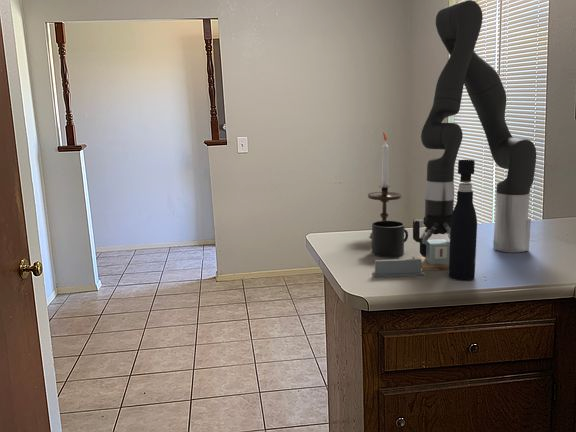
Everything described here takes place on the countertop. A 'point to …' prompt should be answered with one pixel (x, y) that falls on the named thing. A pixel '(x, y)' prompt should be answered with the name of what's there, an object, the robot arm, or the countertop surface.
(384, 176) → the candlestick
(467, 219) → the wine bottle
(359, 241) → the countertop surface
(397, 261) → the grey angle bar
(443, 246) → the letter cube
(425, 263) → the coaster
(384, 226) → the mug
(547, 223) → the countertop surface
